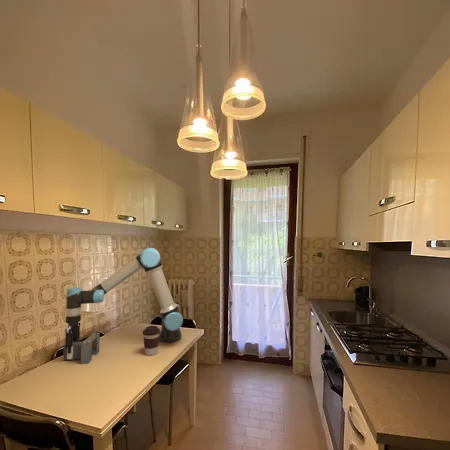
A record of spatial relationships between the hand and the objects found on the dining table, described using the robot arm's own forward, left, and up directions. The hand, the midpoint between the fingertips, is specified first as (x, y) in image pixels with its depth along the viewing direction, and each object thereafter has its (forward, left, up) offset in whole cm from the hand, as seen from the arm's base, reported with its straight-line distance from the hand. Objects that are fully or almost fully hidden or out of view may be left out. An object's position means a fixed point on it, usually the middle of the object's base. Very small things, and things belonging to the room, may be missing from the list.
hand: (72, 356), depth 148 cm
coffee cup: (-44, -1, -1) cm, 44 cm away
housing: (-10, 0, -1) cm, 10 cm away
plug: (-3, 0, -1) cm, 3 cm away
